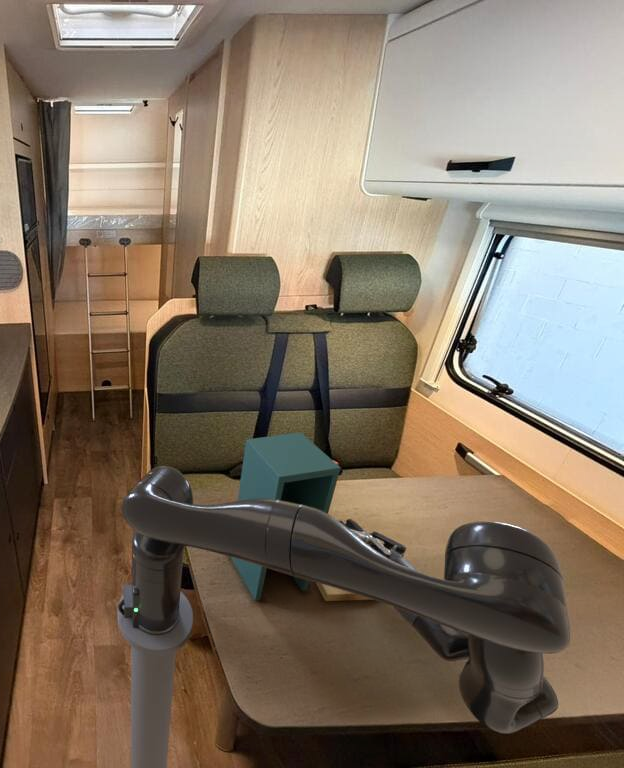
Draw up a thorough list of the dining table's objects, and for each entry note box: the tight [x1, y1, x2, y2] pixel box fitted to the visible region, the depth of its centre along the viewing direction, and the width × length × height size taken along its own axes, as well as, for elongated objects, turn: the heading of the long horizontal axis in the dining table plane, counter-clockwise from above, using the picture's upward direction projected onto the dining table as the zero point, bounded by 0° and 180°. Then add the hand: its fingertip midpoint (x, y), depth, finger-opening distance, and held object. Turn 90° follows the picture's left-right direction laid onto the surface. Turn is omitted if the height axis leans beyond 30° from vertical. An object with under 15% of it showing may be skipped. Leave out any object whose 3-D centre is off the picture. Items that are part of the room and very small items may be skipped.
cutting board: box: [315, 582, 373, 602], centre depth 94 cm, size 11×19×2 cm, turn 1°
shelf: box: [230, 432, 341, 602], centre depth 86 cm, size 12×12×32 cm
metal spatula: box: [349, 528, 373, 543], centre depth 92 cm, size 21×4×2 cm, turn 11°
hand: (342, 523), depth 89 cm, fingers closed on metal spatula, 1 cm apart
